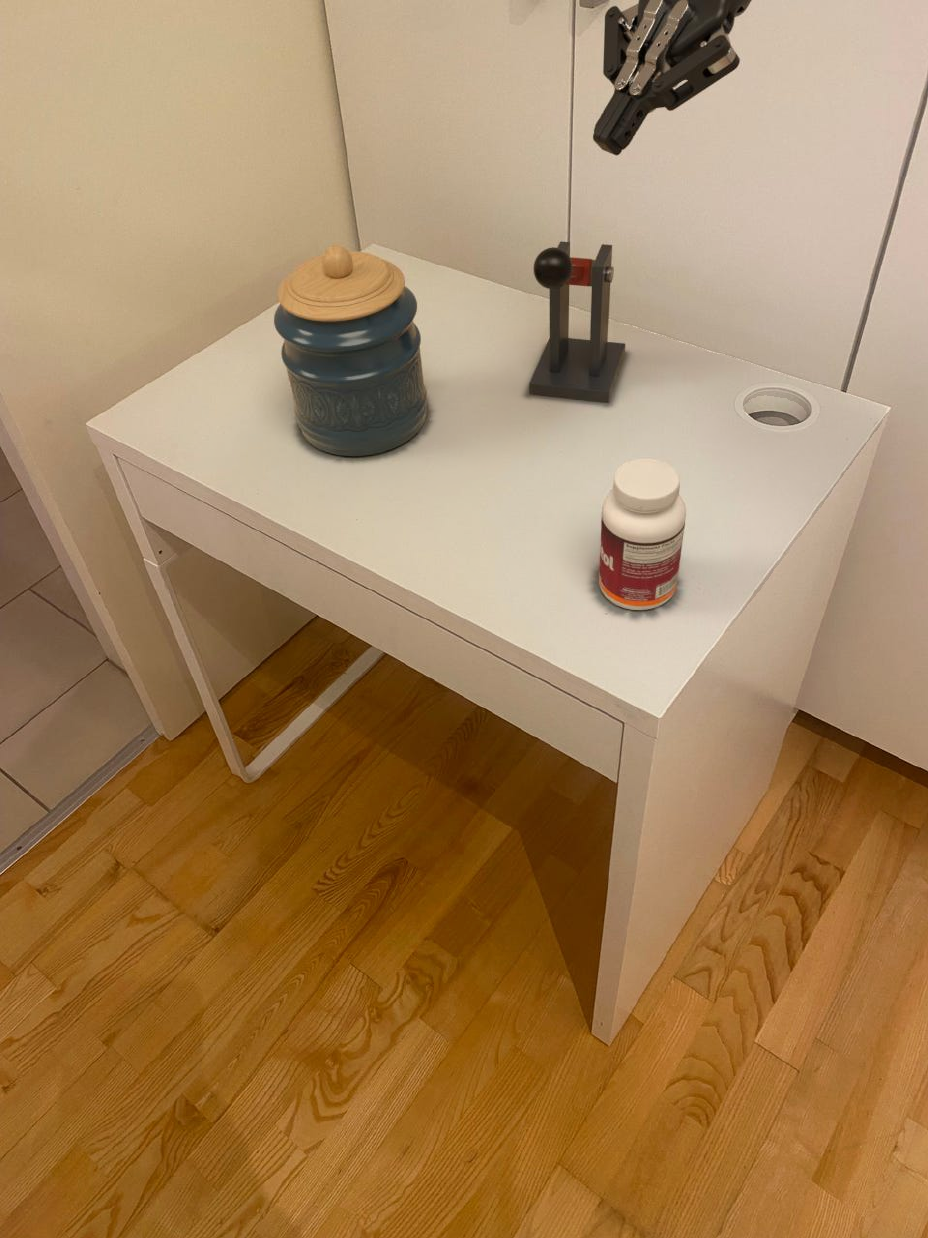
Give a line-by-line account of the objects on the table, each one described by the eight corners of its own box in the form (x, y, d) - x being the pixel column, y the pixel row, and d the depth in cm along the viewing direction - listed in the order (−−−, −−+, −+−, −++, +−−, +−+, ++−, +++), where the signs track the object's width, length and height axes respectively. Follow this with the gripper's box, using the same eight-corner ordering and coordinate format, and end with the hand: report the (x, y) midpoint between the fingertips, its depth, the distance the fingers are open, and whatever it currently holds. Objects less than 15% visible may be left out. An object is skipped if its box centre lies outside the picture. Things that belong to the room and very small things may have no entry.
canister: (383, 368, 101) (359, 201, 88) (455, 422, 93) (440, 248, 80) (275, 416, 96) (233, 246, 83) (341, 477, 89) (306, 301, 76)
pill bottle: (598, 558, 79) (604, 449, 71) (674, 560, 78) (689, 450, 70) (597, 612, 75) (602, 503, 67) (677, 615, 74) (693, 506, 66)
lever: (566, 290, 77) (571, 247, 76) (527, 287, 77) (531, 244, 76) (597, 291, 91) (601, 255, 90) (564, 288, 92) (568, 253, 91)
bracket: (608, 403, 94) (615, 280, 85) (529, 394, 96) (527, 273, 87) (624, 354, 100) (632, 234, 90) (550, 346, 102) (550, 228, 92)
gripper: (828, -26, 69) (687, 197, 73) (693, -54, 76) (573, 149, 81) (791, -104, 63) (640, 144, 67) (650, -125, 70) (523, 98, 75)
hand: (604, 147), depth 74 cm, fingers closed
